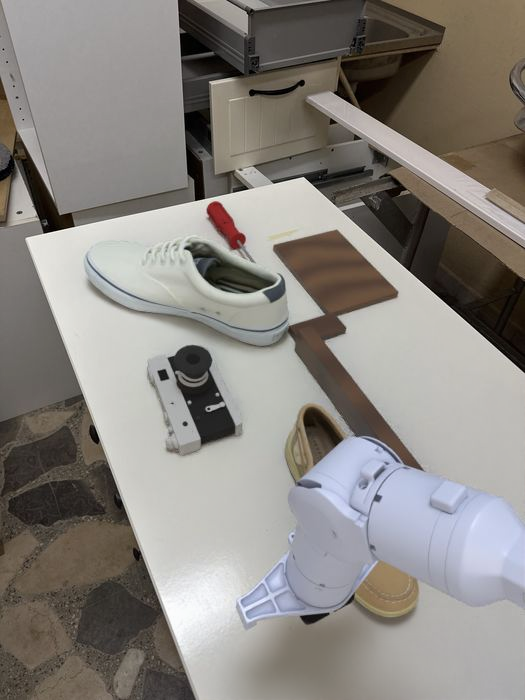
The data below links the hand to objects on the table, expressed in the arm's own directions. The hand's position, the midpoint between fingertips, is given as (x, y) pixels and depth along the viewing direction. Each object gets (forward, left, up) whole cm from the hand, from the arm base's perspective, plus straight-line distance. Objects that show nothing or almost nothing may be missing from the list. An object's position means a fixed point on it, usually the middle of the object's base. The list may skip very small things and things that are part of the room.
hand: (305, 607), depth 50 cm
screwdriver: (+60, -21, -5) cm, 64 cm away
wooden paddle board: (+28, -30, -5) cm, 41 cm away
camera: (+31, 0, -5) cm, 31 cm away
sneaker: (+50, -7, -5) cm, 51 cm away
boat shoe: (+8, -10, -5) cm, 14 cm away
